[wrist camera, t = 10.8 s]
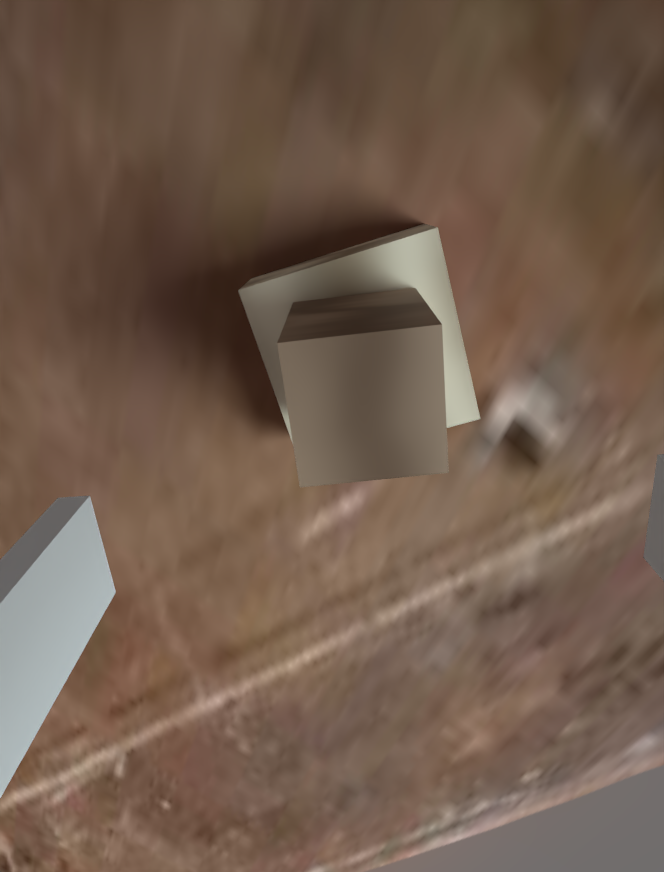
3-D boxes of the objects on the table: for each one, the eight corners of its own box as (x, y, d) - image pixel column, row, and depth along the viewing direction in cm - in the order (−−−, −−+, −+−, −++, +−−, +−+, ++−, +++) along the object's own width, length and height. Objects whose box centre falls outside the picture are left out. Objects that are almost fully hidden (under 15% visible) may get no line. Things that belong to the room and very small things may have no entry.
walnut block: (309, 415, 31) (299, 487, 24) (292, 302, 29) (276, 343, 21) (422, 403, 31) (448, 472, 23) (415, 287, 28) (441, 324, 21)
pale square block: (305, 433, 37) (301, 467, 32) (252, 277, 33) (237, 290, 29) (461, 390, 36) (480, 418, 31) (423, 223, 32) (437, 227, 27)
